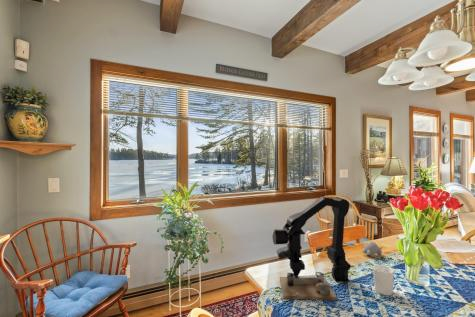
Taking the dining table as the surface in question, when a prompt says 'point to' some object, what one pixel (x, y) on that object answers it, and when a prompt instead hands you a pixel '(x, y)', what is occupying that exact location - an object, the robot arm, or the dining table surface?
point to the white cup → (383, 279)
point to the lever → (304, 279)
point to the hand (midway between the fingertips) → (294, 274)
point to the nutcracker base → (308, 291)
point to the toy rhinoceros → (372, 249)
